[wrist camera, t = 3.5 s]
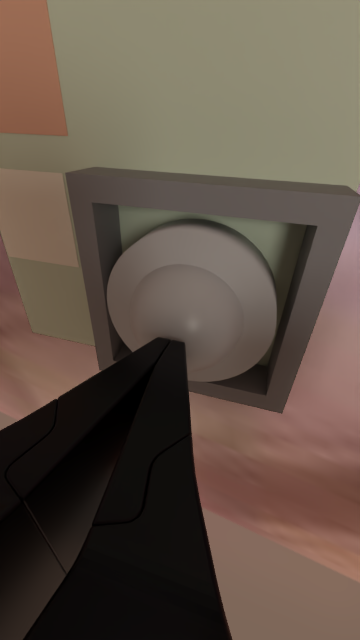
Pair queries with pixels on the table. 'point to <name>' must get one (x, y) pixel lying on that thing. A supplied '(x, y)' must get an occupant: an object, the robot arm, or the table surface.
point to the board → (178, 153)
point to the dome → (196, 296)
